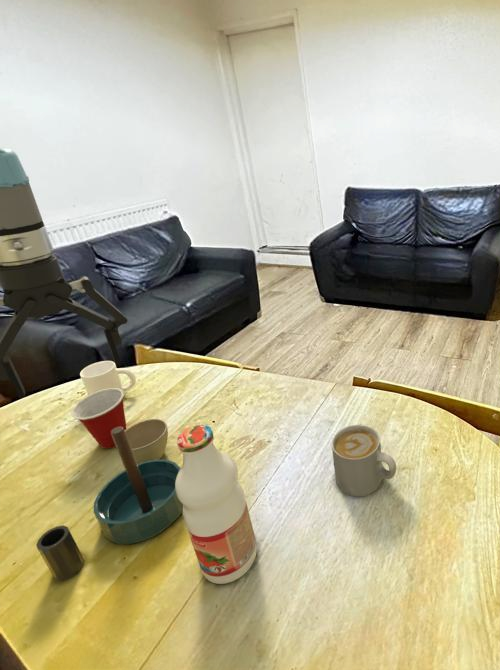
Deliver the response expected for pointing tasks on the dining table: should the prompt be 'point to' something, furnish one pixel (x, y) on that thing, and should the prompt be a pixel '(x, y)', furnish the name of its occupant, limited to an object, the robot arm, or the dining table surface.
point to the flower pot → (148, 439)
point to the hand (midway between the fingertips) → (72, 377)
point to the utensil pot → (60, 553)
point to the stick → (132, 468)
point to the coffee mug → (360, 460)
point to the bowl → (123, 507)
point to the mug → (105, 377)
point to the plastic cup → (101, 414)
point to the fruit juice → (214, 507)
